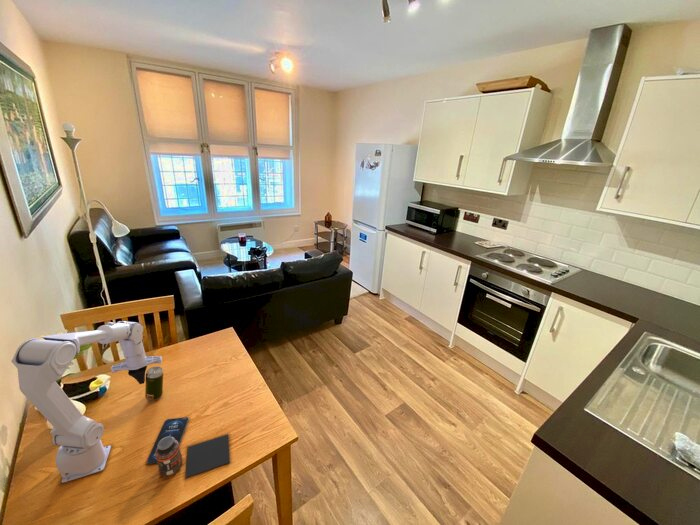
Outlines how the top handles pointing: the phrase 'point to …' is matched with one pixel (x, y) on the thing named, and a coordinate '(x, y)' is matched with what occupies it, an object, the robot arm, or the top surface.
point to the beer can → (154, 383)
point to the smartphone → (169, 434)
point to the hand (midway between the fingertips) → (142, 381)
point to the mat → (207, 455)
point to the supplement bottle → (168, 456)
